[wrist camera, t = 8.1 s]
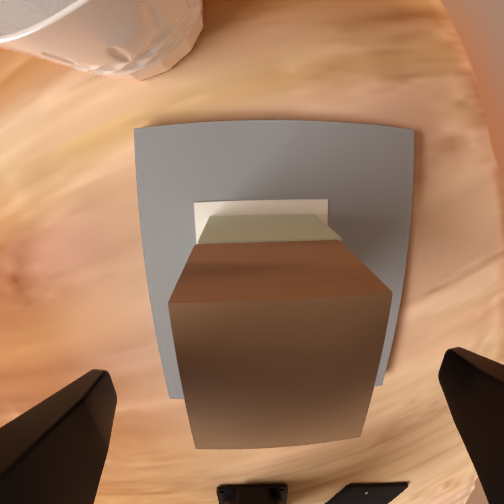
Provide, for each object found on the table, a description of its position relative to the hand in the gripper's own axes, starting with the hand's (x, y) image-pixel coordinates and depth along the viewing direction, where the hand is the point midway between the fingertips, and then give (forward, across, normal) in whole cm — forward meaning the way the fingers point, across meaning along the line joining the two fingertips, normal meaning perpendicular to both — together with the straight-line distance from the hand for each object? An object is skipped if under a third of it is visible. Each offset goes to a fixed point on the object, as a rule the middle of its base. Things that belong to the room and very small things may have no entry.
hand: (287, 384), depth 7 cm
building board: (+10, -1, +1) cm, 10 cm away
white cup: (+10, +6, -13) cm, 18 cm away
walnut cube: (+5, 0, 0) cm, 5 cm away
